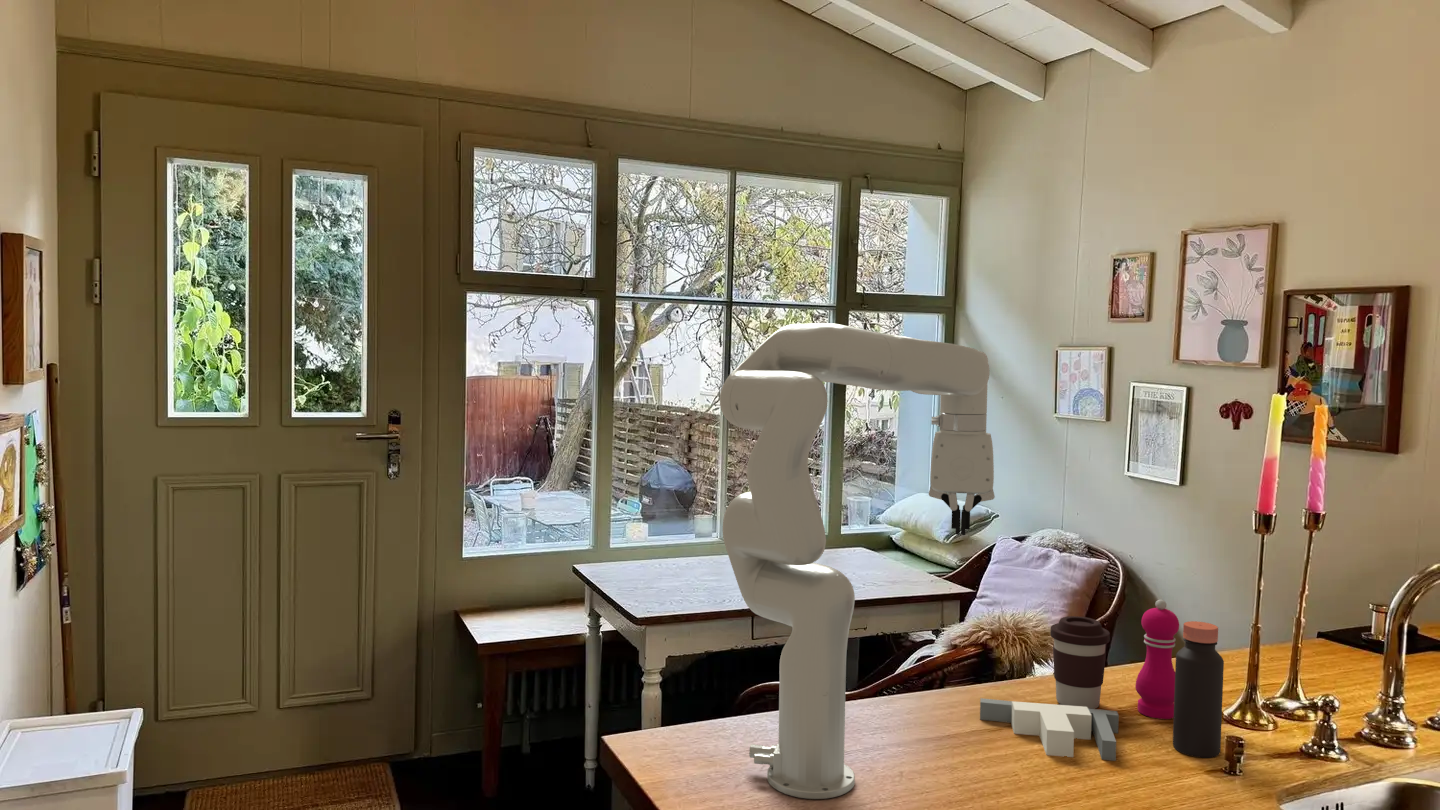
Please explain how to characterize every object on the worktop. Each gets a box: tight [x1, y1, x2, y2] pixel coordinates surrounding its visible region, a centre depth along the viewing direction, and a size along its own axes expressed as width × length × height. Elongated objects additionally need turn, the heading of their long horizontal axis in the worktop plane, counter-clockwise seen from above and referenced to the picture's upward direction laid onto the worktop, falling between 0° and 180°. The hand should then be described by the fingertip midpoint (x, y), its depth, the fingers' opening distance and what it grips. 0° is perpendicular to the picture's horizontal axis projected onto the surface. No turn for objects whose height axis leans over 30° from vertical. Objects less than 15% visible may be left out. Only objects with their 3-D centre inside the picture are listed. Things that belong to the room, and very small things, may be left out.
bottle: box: [1172, 620, 1225, 759], centre depth 154 cm, size 7×7×20 cm
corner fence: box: [979, 697, 1120, 762], centre depth 159 cm, size 22×14×3 cm, turn 76°
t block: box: [1010, 700, 1092, 758], centre depth 158 cm, size 12×12×4 cm
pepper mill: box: [1135, 599, 1180, 720], centre depth 170 cm, size 7×7×20 cm
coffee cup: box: [1049, 615, 1111, 709], centre depth 175 cm, size 10×10×15 cm
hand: (960, 533), depth 164 cm, fingers closed
